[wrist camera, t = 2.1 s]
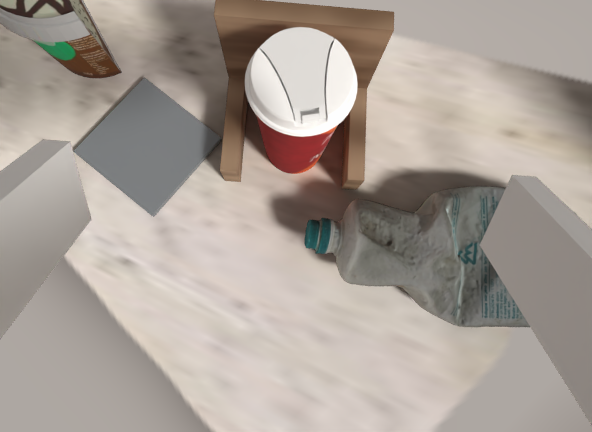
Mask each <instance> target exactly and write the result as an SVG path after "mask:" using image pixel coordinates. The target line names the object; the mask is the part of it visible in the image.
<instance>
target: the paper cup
mask: <svg viewBox="0 0 592 432" xmlns="http://www.w3.org/2000/svg"><path fill="white" fill-rule="evenodd" d="M245 91H246V95H247V99H248V101H249V104H250V106H251V108H252V109H253V111H254V112H255V114H256V116H257V120H258V124H259V128H260V132H261V135H262V139H263V143H264V146H265V149H266V153H267V155H268V157H269V159H270V161H271V162H272V164H273V165H274V166H275V167H276V168H278V169H279V170H281V171H283V172H286V173H291V174H297V173H302V172H305V171H307V170H309V169H310V168H312V167H313V166H314V165H315V164H316V162H317V161H318V160H319V158H320V156H321V155H322V153H323V151H324V149H325V148H326V146H327V144H328V142H329V140H330V138H331V137H332V135H333V133H334V131H335V129H336V127H337V125H338V124H339V123H341V122H342V121H343V120H344V119H345V117H346V116H347V115H348V114H349V112H350V110H351V109H352V107H353V104H354V102H355V99H356V95H357V75H356V72H355V69H354V66H353V64H352V61H351V58H350V56H349V54H348V52H347V51H346V49H345V48H344V47H343V45H342V44H341V43H340V42H339V41H338V40H336V39H334V37H332V36H330V35H328V34H326V33H324V32H321V31H319V30H317V29H313V28H306V27H293V28H288V29H284V30H282V31H280V32H278V33H276V34H274V35H272V36H271V37H270V38H269V39H268V40H266V41H265V42H264V43H263V44H262V45H261V46H260V47H259V48H258V49H257V51H256V52H255V53H254V55H253V56H252V58H251V60H250V62H249V64H248V66H247V70H246V73H245Z"/></svg>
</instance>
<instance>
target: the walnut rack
mask: <svg viewBox="0 0 592 432" xmlns="http://www.w3.org/2000/svg"><path fill="white" fill-rule="evenodd" d="M214 17H215V21H216V26H217V30H218V34H219V38H220V42H221V47H222V51H223V55H224V59H225V63H226V68H227V72H228V76H229V82H228V92H227V103H226V113H225V123H224V134H223V144H222V154H221V165H220V172H221V174H222V175H223V177H224V179H225V181H237V182H241V170H242V159H243V147H244V136H245V124H246V113H247V101H248V99H247V95H246V91H245V73H246V70H247V66H248V64H249V62H250V60H251V58H252V56H253V55H254V53H255V52H256V51H257V49H258V48H259V47H260V46H261V45H262V44H263V43H264V42H265V41H266V40H268V39H269V38H270V37H271V36H272V35H274V34H276V33H278V32H280V31H282V30H284V29H288V28H293V27H306V28H313V29H317V30H319V31H321V32H324V33H326V34H328V35H330V36H332V37H334V39H336V40H338V41H339V42H340V43H341V44H342V45H343V47H344V48H345V49H346V51H347V52H348V54H349V56H350V58H351V61H352V64H353V66H354V69H355V72H356V75H357V95H356V99H355V102H354V104H353V107H352V109H351V110H350V112H349V114H348V115H347V116H346V117H345V119H344V136H343V161H342V187H341V189H353V190H357V188H358V187H359V186H360V185H361V184H362V183H363V181H364V171H365V137H366V102H367V87H368V85H369V83H370V81H371V79H372V76H373V74H374V72H375V70H376V68H377V66H378V63H379V61H380V59H381V57H382V55H383V53H384V50H385V48H386V46H387V44H388V42H389V40H390V37H391V35H392V33H393V31H394V12H389V11H378V10H367V9H354V8H343V7H332V6H320V5H309V4H297V3H286V2H285V3H284V2H274V1H263V0H216V1H215V10H214Z"/></svg>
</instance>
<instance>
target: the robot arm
mask: <svg viewBox="0 0 592 432" xmlns="http://www.w3.org/2000/svg"><path fill="white" fill-rule="evenodd" d="M90 221H91V216H90V212H89V208H88V205H87V201H86V197H85V194H84V190H83V186H82V183H81V179H80V175H79V172H78V168H77V164H76V161H75V157H74V153H73V150H72V146H71V142H70V141H57V140H44V139H43V140H42V141H40V142H39V143H38V144H36V145H35V146H34V147H32V148H31V149H30V150H28V151H27V152H26V153H24V154H23V155H22V156H20V157H19V158H18V159H16V160H15V161H14V162H12V163H11V164H10V165H8V166H7V167H6V168H4V169H3V170H2V171H0V339H1V338H2V336H3V335H4V334H5V332H6V331H7V330H8V328H9V327H10V326H11V325H12V323H13V322H14V321H15V319H16V318H17V317H18V315H19V314H20V313H21V311H22V310H23V309H24V307H25V306H26V305H27V303H28V302H29V301H30V300H31V298H32V297H33V295H34V294H35V293H36V292H37V290H38V289H39V288H40V286H41V285H42V284H43V282H44V281H45V280H46V278H47V277H48V276H49V275H50V273H51V272H52V270H53V269H54V268H55V266H56V265H57V264H58V263H59V261H60V260H61V259H62V257H63V256H64V255H65V253H66V252H67V251H68V249H69V248H70V247H71V246H72V244H73V243H74V242H75V240H76V239H77V238H78V236H79V235H80V234H81V232H82V231H83V230H84V228H85V227H86V226H87V224H88V223H89V222H90ZM480 246H481V248H482V250H483V251H484V253H485V255H486V256H487V258H488V259H489V261H490V263H491V264H492V266H493V267H494V269H495V271H496V272H497V274H498V275H499V277H500V279H501V280H502V282H503V284H504V285H505V287H506V288H507V290H508V292H509V293H510V295H511V296H512V298H513V300H514V301H515V303H516V304H517V306H518V308H519V309H520V311H521V313H522V314H523V316H524V317H525V319H526V321H527V322H528V324H529V325H530V327H531V329H532V330H533V332H534V333H535V335H536V337H537V338H538V340H539V342H540V343H541V345H542V346H543V348H544V350H545V351H546V353H547V354H548V356H549V358H550V359H551V361H552V363H553V364H554V366H555V367H556V369H557V371H558V372H559V374H560V375H561V377H562V379H563V380H564V382H565V383H566V385H567V387H568V388H569V390H570V391H571V393H572V394H573V396H574V398H575V400H576V401H577V403H578V404H579V406H580V408H581V409H582V411H583V412H584V414H585V416H586V417H587V419H588V420H589V422H590V424H591V425H592V229H591V228H590V227H589V226H588V225H587V224H586V223H585V222H583V221H582V220H581V219H580V218H579V217H578V216H577V215H576V214H575V213H574V212H573V211H572V210H571V209H570V208H569V207H568V206H567V205H566V204H564V203H563V202H562V201H561V200H560V199H559V198H558V197H557V196H556V195H555V194H554V193H553V192H552V191H551V190H550V189H549V188H548V187H547V186H545V185H544V184H543V183H542V182H541V181H540V180H539V179H538V178H537V177H531V176H518V175H512V176H511V178H510V180H509V183H508V185H507V187H506V189H505V191H504V193H503V196H502V198H501V200H500V202H499V204H498V207H497V209H496V211H495V213H494V215H493V217H492V220H491V222H490V224H489V226H488V228H487V230H486V233H485V235H484V237H483V239H482V241H481V243H480Z"/></svg>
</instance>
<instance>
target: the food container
mask: <svg viewBox="0 0 592 432" xmlns="http://www.w3.org/2000/svg"><path fill="white" fill-rule="evenodd" d="M0 23H1V24H2V25H3V26H5V27H6V28H7V29H9V30H10V31H12V32H14V33H16V34H18V35H20V36H23V37H25V38H28V39H32V40H33V41H35V42H36V43H37V44H38V45H39V46H41V47H42V48H43V49H44V50H45V51H47V52H48V53H49V54H50V55H51V56H53V57H54V58H55V59H56V60H57V61H59V62H60V63H61V64H62V65H63V66H65V67H66V68H67V69H69V70H70V71H72V72H73V73H75V74H78V75H80V76H83V77H89V78H105V77H110V76H114V75H117V74H119V73H122V72H121V70H120V68H119V66H118V65H117V63H116V61H115V59H114V57H113V55H112V53H111V52H110V50H109V48H108V46H107V44H106V42H105V40H104V38H103V37H102V35H101V33H100V31H99V29H98V27H97V25H96V24H95V22H94V20H93V18H92V16H91V14H90V12H89V10H88V9H87V7H86V5H85V3H84V1H83V0H0Z"/></svg>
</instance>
